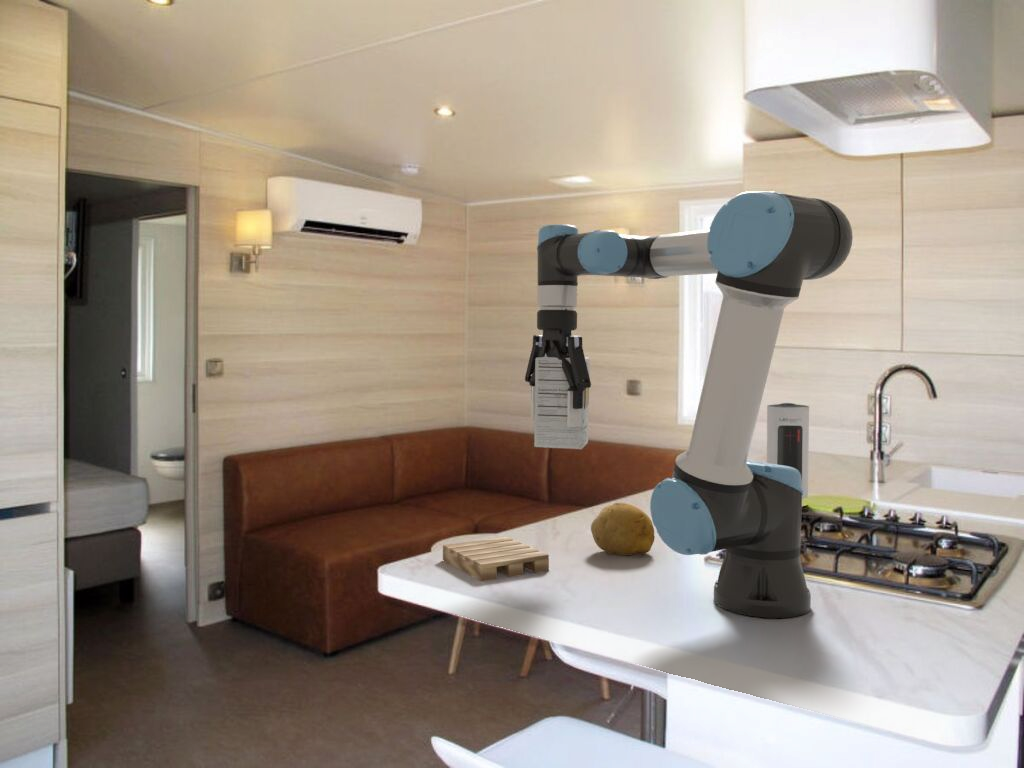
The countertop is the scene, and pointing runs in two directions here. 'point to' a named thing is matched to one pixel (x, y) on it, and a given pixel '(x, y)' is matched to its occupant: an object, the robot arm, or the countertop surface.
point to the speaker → (789, 438)
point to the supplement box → (556, 407)
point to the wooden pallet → (495, 558)
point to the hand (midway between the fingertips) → (555, 423)
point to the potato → (623, 530)
